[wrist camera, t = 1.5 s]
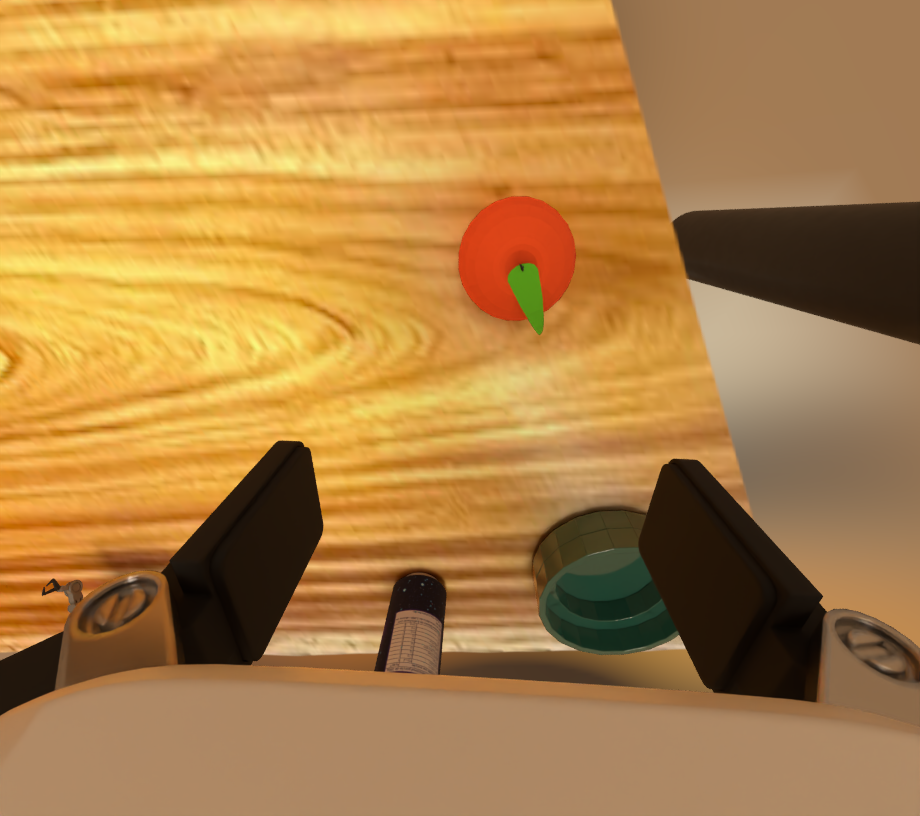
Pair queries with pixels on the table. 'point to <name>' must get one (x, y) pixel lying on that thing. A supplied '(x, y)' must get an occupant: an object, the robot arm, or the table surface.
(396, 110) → the table surface
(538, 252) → the clementine
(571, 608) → the bowl
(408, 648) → the beverage can
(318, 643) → the table surface
